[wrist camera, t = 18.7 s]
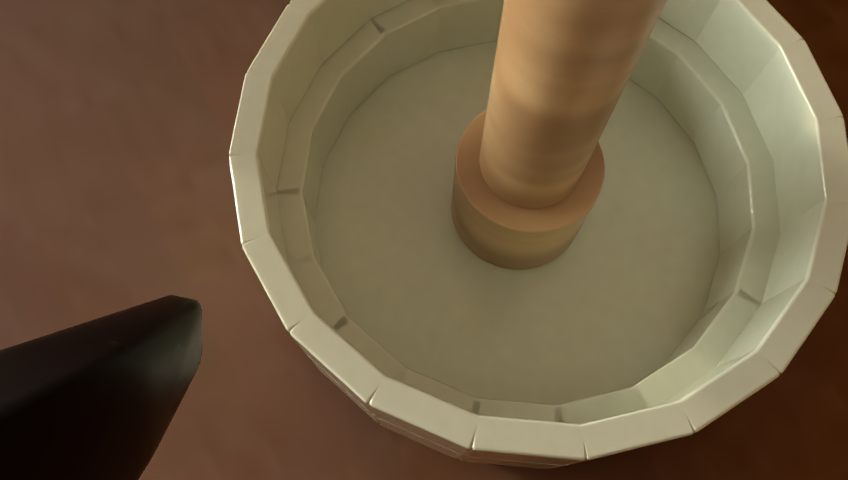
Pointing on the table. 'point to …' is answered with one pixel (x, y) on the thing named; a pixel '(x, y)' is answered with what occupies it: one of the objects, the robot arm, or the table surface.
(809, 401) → the table surface
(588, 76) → the cylinder
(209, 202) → the table surface
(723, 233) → the bowl
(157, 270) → the table surface
